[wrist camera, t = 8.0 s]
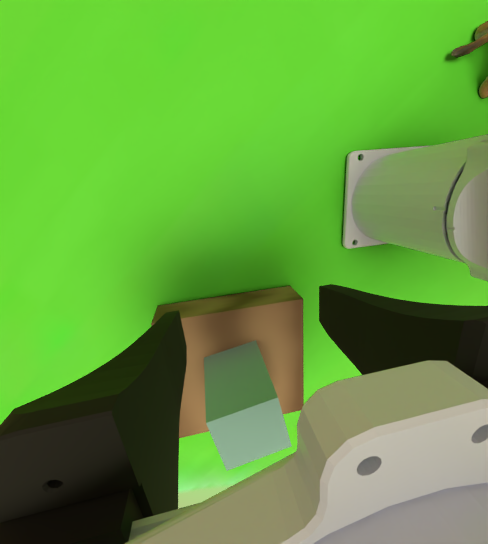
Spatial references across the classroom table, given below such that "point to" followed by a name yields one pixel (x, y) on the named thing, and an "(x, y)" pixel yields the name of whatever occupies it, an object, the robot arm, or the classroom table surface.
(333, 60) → the classroom table surface
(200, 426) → the walnut base
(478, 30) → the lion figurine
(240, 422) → the teal block
